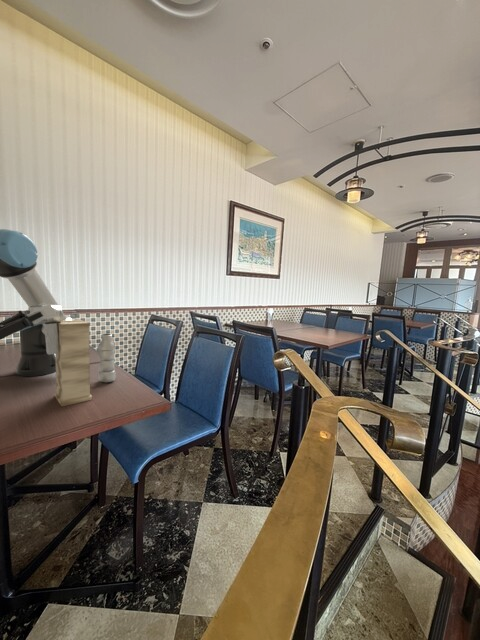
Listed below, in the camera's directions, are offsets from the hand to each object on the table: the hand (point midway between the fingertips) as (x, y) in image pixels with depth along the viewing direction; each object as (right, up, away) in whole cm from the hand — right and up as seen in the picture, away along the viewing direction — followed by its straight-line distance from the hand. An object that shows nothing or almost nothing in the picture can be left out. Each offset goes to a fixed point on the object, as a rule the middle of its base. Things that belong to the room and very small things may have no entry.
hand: (49, 306), depth 85 cm
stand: (+3, -32, +8) cm, 33 cm away
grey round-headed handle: (+2, -7, +3) cm, 8 cm away
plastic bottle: (+6, -30, +25) cm, 40 cm away
